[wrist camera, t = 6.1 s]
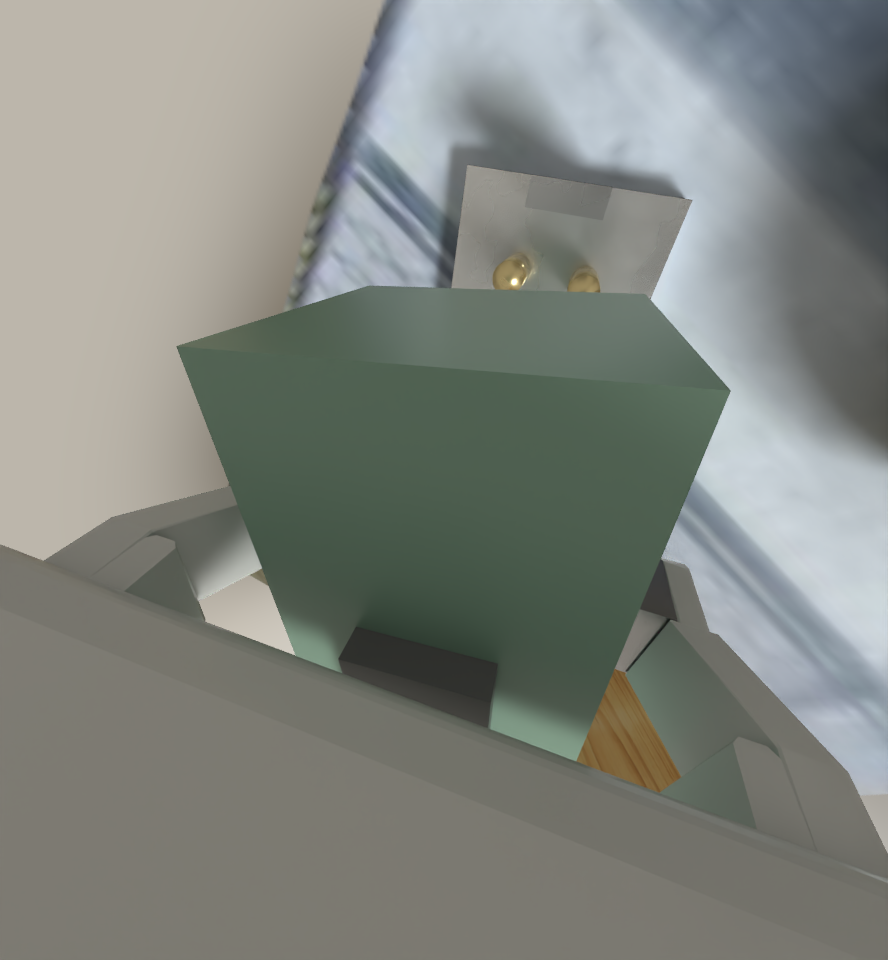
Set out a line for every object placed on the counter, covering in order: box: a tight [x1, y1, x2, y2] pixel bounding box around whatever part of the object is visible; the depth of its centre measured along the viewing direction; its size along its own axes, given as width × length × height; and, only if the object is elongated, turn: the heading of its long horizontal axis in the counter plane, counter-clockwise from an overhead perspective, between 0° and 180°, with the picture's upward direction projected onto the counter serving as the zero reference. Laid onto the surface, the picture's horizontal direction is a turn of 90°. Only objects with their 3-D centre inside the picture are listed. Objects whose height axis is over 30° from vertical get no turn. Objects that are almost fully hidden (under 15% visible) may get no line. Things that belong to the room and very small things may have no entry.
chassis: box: [451, 165, 692, 299], centre depth 20 cm, size 14×10×5 cm
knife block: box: [576, 669, 681, 793], centre depth 24 cm, size 11×35×31 cm, turn 57°
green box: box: [177, 286, 730, 761], centre depth 8 cm, size 9×6×6 cm, turn 1°
